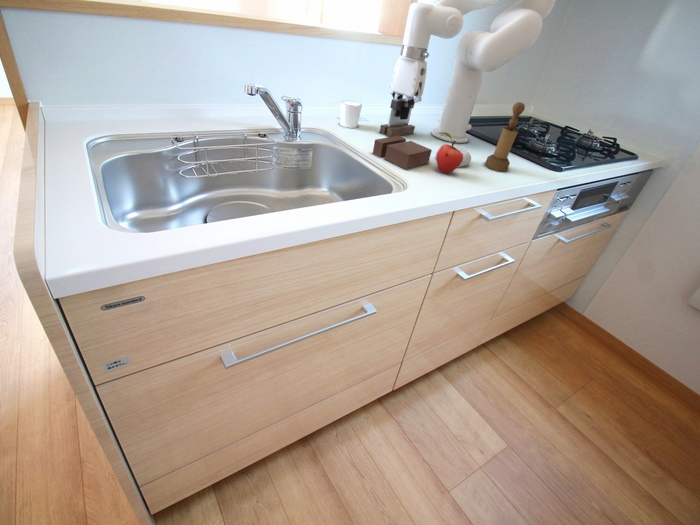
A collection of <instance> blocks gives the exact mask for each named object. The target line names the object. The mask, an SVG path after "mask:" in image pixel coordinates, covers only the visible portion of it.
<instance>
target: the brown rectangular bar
mask: <svg viewBox="0 0 700 525" xmlns="http://www.w3.org/2000/svg"><path fill="white" fill-rule="evenodd" d="M402 142H407V138H405V137H403V136H394V137H388V136H387V137H382V138H376V139H374V142H373V143H374V144H373V149H372V155H374V156H377V157H379V158H385V155H386V150H387V145H391V144H396V143H402Z"/></svg>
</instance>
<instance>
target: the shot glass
mask: <svg viewBox="0 0 700 525" xmlns="http://www.w3.org/2000/svg"><path fill="white" fill-rule="evenodd" d="M362 108H363V105H362V103H360V102H358V101H353V100H342V101H340V119H339V120H340V122H339V124H340V126H342V127H344V128H347V129H356V128H357V127H358V124H359V120H360V116H361V111H362Z"/></svg>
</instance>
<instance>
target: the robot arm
mask: <svg viewBox="0 0 700 525" xmlns="http://www.w3.org/2000/svg"><path fill="white" fill-rule="evenodd" d="M556 1H557V0H518V1H516V2H514V4H512V5H511V6H509V7H508V8H506V9H505V10H503V11H502V12H500V13H499V14H498V15H497V16H496V17H495V18H494V19H493V21H492V23H491V25H490V29H489V31H485V30H480V29H475V30H470V31H468V32H467V33H465V34H464V35H463V36H462V37H461V38H460V39H459V41H458V43H457V45H456V50H455V55H454V65H453V70H452V75H451V79H450V82H449V85H448V88H447V93H446V96H445V101H444V104H443V108H442V112H441V115H440V118H439V123H438V126H437V127H436V128H435V127H434V128H433V129H432V130H431V133H432V136H434V137H435V138H437V139H440V140H442V141H444V142H445V141H446V142H450V143H452V141H454V140H455V141H456V142H455V144H464V143H467V142H468V141H469V138H470V137H469V136H468V134H467V133H466V132H467V131H471V130H472V129H473V128H472V124H469V123H470V120H471V118H472V114H473V110H474V108H475V104H476V102H477V98H478V96H479V92H480V89H481V86H482V81H483V73H487V72H488V73H490V72H493V71H495V70H499V69H500V68H501V67H503V66H505V65H506V64H507V63H509V62H510V61H512V60H514V59H515V58H517V57H518V56H520V55H522V53H524V52H526V51H527V50H528V49H530V48H531V47H532V46H533V45H534V44H535V42H536V41H537V40H538V38H539V36H540V35H541V32H542V28H543V20H545V19H546V18H547V17H548V16H549V15H550V14H551V12H552V10H553V8H554V6H555V4H556ZM498 2H500V0H438V1H437V2H436V3H435V4H433V5H432V4H430V3H426V2H425V3H423V2H412V3H411V4H410V6H409V8H408V13H407V18H406V23H405V28H404V34H403V38H402V45H401V49H400V54H399V56H397V60H396V63H395V66H394V69H393V73H392V77H391V81H390V87H389V89H388V92H389V93H390V94H391V96H392V98H393V99H403V98H404V96H405V104H404V106H403V107H402V111H401V116H400V119H401V120H404V119H407V118H408V115H409V111H410V107H411V106H412V105H413V104H414V105H415V104H417V103H419V102H422V96H423V94H424V91H425V90H424V89H425V85H426V80H427V78H426V77H427V71H428V70H427V67H428V62H427V61H425V60H426V59H428V58H429V56H430V53H429V52H428V48H429V44H430V39H431V36H435V37H438V38H440V39H445V40H449V39H453V38H455V37H457V36H458V35H459V34H460V33H461V32H462V29H463V27H464V15H467V14H469V13H471V12H474V11H477V10H481V9H485V8H489V7H491V6H493V5H495V4H497V3H498ZM409 98H410V100H409ZM444 132H446V133H448V134H450V136H451V138H452V140H451V139H450V138H449V137H448V136H447V135H445V134H439V133H444Z"/></svg>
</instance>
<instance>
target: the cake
mask: <svg viewBox="0 0 700 525" xmlns="http://www.w3.org/2000/svg"><path fill="white" fill-rule="evenodd" d="M432 150H433V149H431V148H429V147H426V146H424V145H422V144H420V143H417V142H415V141H412V140H408V141H407V140H406V142H402V143H396V144H391V145H387V150H386V155H385V157H384V160H385V161H387V162H388V163H391V164H393V165H395V166H397V167H400V168H401V169H403V170H405V171H407V170H409V169H413V168H414V169H415V168H418V167H421V166H425V165H428V164H429V161H430V158H431V154H432Z"/></svg>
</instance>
